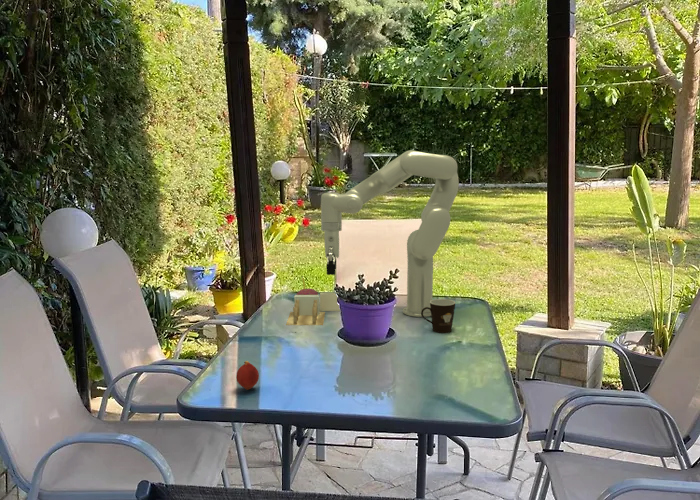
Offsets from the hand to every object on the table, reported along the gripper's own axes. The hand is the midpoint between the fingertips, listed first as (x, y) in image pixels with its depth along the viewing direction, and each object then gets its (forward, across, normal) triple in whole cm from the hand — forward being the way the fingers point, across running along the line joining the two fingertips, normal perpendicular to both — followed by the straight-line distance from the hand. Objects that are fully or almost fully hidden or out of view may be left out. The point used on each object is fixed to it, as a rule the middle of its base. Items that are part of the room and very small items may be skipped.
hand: (331, 271), depth 238 cm
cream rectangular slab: (+16, 0, 0) cm, 16 cm away
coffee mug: (+16, -21, -37) cm, 46 cm away
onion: (+17, -73, +20) cm, 77 cm away
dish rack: (+16, -11, +9) cm, 22 cm away
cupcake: (+16, +11, +10) cm, 22 cm away
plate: (+15, -6, +9) cm, 18 cm away
